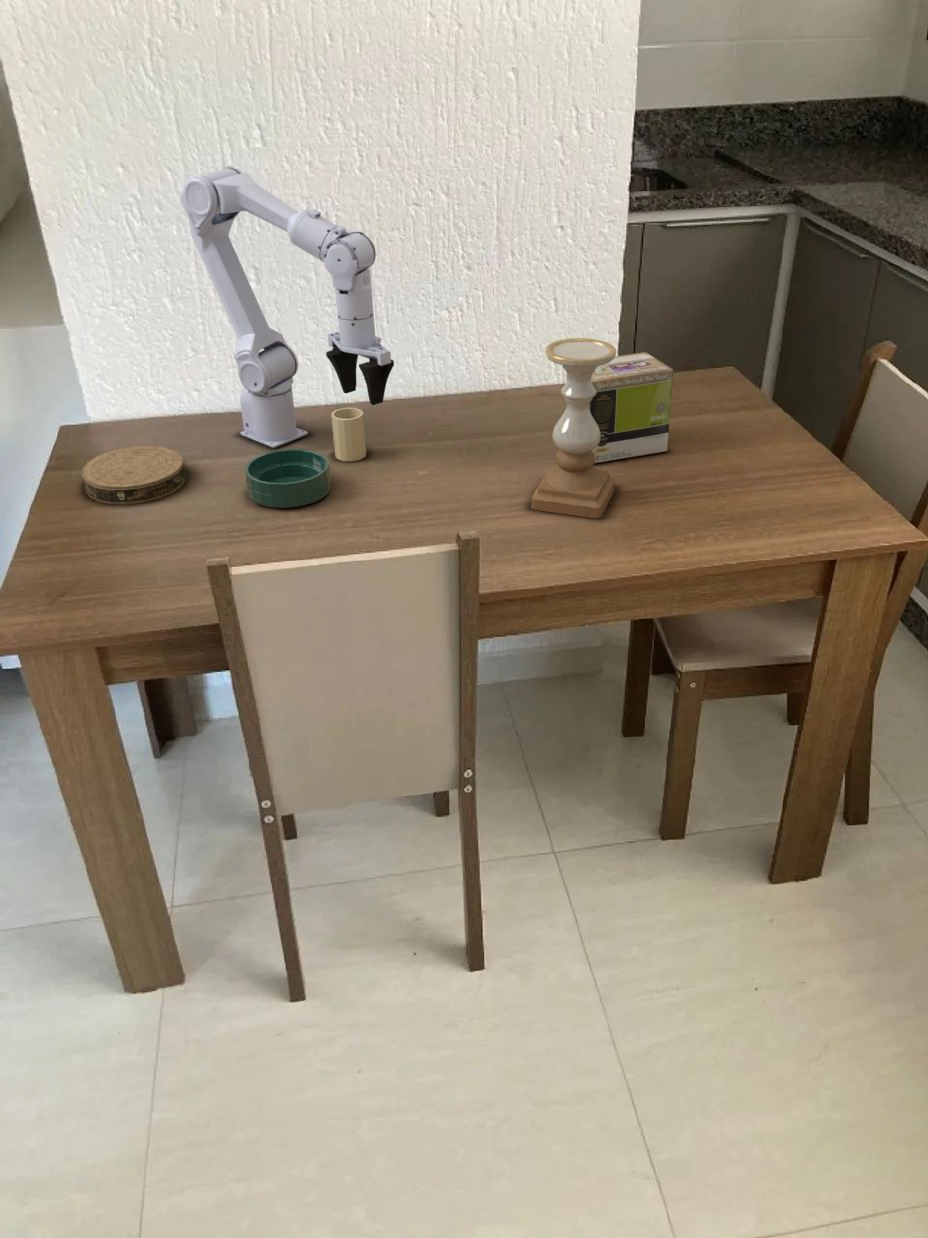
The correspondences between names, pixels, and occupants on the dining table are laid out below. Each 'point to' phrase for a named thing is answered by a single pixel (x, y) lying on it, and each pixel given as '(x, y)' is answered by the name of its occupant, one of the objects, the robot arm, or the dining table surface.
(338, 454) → the cup
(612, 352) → the candle holder
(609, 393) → the tea box
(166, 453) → the round wood slice
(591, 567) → the dining table surface
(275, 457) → the bowl
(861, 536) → the dining table surface
